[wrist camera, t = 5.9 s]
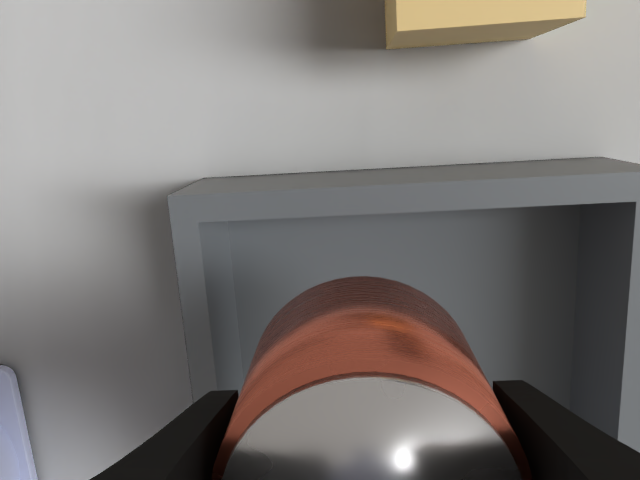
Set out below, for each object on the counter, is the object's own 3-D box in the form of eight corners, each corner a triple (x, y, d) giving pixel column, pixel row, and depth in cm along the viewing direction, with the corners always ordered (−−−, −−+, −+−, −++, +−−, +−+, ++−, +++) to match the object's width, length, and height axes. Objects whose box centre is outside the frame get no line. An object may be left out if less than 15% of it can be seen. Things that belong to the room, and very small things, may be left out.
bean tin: (268, 484, 14) (232, 661, 10) (236, 287, 13) (178, 385, 8) (479, 470, 14) (544, 645, 9) (467, 264, 12) (536, 353, 8)
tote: (240, 507, 22) (217, 591, 18) (204, 177, 19) (167, 195, 15) (580, 503, 21) (631, 590, 18) (601, 156, 18) (670, 170, 14)
